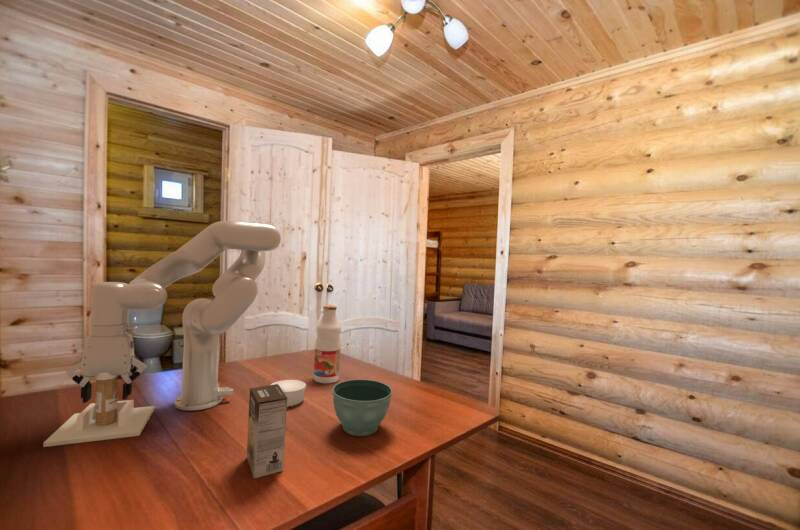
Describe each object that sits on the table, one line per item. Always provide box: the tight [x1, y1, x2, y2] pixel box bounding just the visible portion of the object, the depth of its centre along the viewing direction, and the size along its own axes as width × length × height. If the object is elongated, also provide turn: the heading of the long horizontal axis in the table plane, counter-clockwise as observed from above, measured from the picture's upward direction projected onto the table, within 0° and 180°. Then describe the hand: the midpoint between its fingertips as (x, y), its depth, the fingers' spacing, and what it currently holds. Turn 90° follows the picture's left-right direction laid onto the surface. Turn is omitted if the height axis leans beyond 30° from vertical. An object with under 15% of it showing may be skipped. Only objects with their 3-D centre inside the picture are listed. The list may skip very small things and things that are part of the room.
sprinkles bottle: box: [94, 373, 119, 425], centre depth 92 cm, size 5×5×13 cm
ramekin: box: [270, 379, 307, 408], centre depth 113 cm, size 11×11×5 cm
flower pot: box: [332, 379, 393, 437], centre depth 98 cm, size 16×16×11 cm
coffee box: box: [246, 384, 288, 479], centre depth 79 cm, size 9×6×16 cm
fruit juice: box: [313, 304, 342, 384], centre depth 135 cm, size 9×9×28 cm
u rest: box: [42, 399, 156, 448], centre depth 92 cm, size 18×16×4 cm
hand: (106, 398), depth 92 cm, fingers open, 7 cm apart
